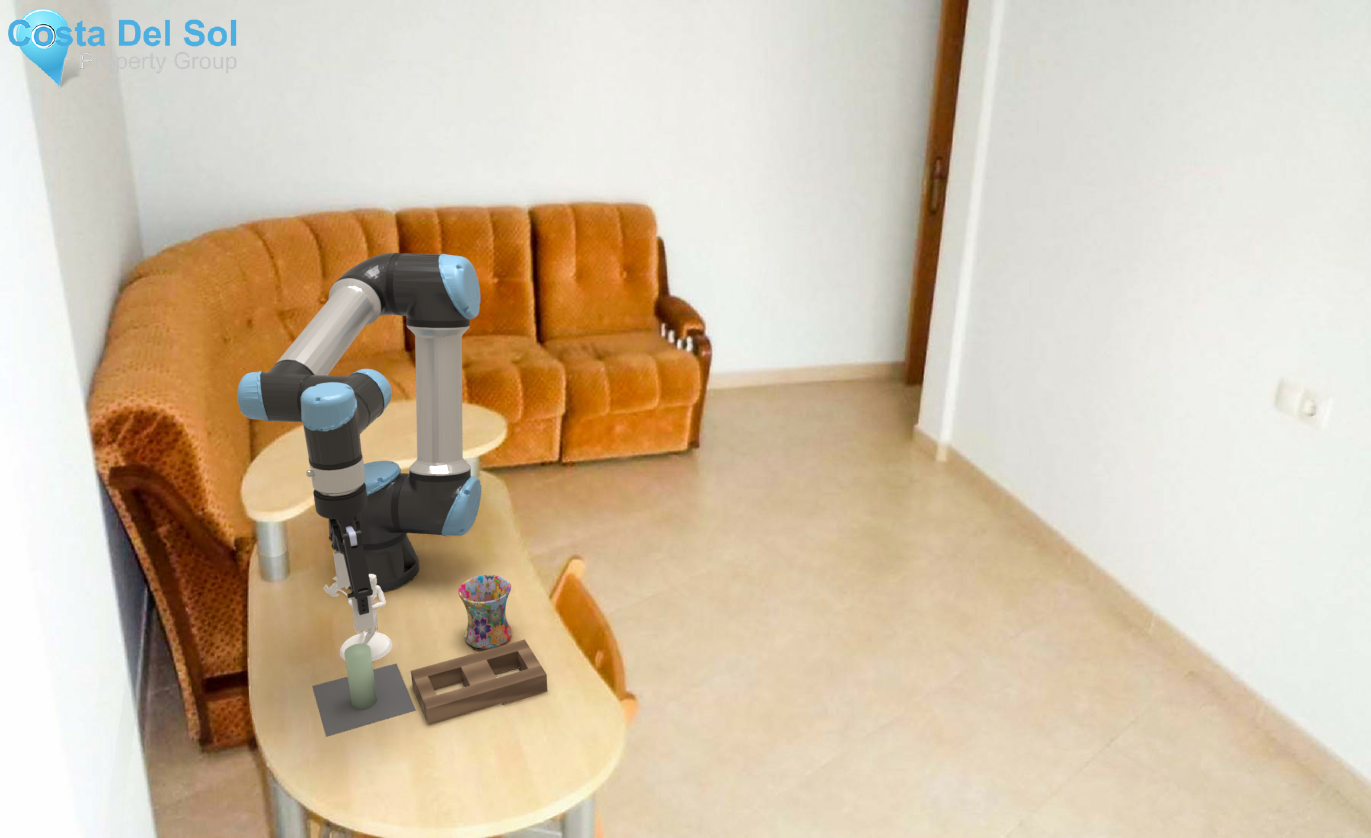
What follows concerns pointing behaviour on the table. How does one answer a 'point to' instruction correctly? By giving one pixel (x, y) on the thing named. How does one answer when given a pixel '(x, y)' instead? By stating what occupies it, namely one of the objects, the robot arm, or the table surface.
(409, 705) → the rubber mat
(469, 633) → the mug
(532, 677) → the walnut hole block
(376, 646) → the figurine
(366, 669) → the sage peg
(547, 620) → the table surface
